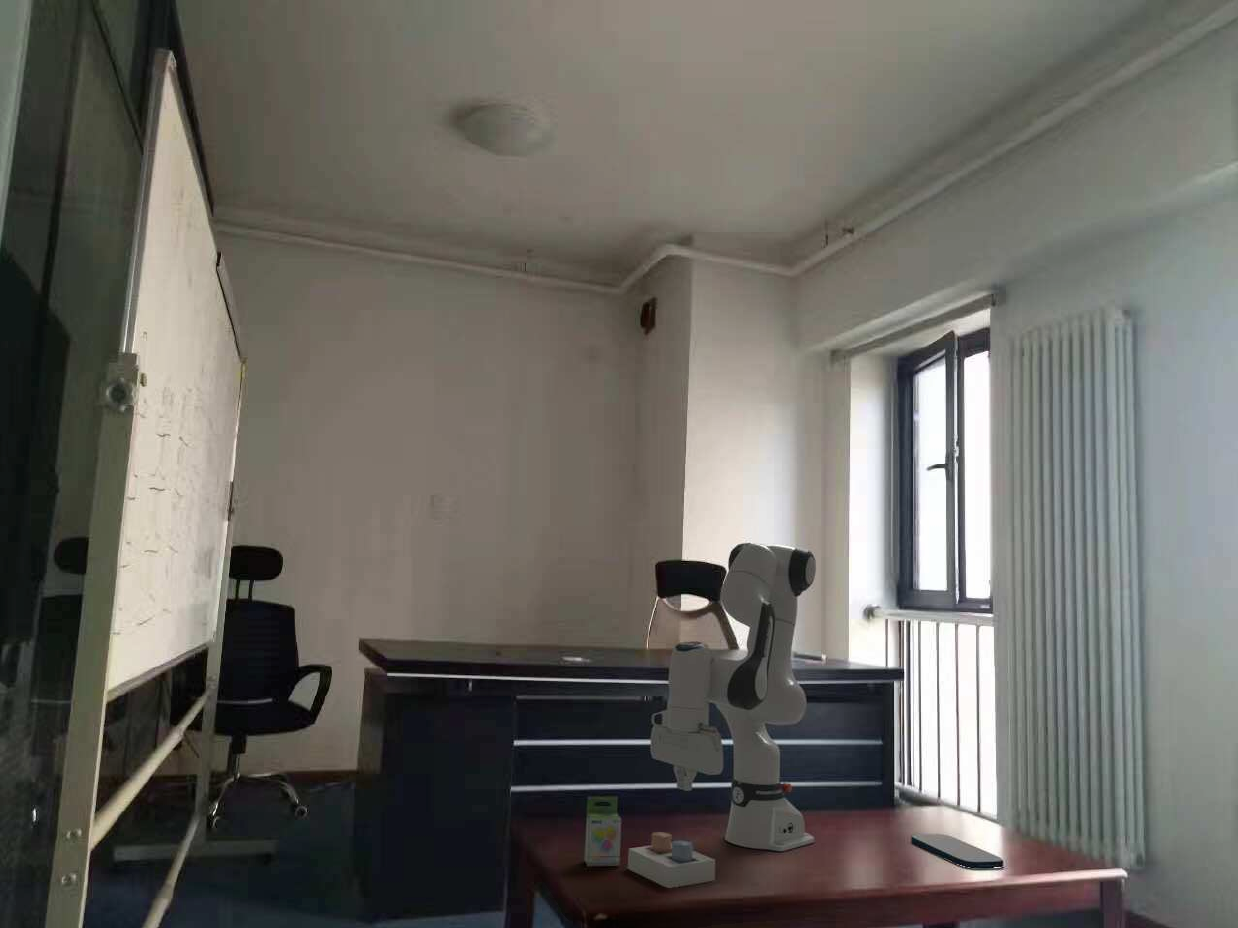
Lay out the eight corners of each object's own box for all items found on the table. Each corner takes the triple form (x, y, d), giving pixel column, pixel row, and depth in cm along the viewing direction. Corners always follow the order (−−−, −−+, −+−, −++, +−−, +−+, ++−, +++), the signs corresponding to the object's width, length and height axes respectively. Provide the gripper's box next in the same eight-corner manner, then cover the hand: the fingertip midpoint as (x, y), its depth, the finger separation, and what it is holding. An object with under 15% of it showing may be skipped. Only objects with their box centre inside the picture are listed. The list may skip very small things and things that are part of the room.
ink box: (587, 867, 186) (590, 800, 188) (583, 861, 189) (587, 796, 191) (619, 866, 187) (622, 800, 189) (615, 861, 191) (618, 796, 193)
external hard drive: (905, 842, 221) (905, 834, 222) (945, 841, 224) (945, 833, 224) (966, 871, 199) (966, 862, 199) (1009, 870, 202) (1009, 861, 202)
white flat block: (672, 861, 193) (673, 842, 193) (714, 880, 181) (715, 859, 182) (627, 868, 186) (628, 848, 187) (668, 888, 174) (669, 866, 175)
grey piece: (683, 859, 184) (684, 839, 185) (696, 865, 181) (696, 844, 181) (667, 862, 182) (668, 841, 182) (680, 867, 178) (680, 847, 179)
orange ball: (662, 850, 190) (663, 831, 190) (674, 856, 186) (675, 836, 187) (647, 853, 187) (648, 833, 188) (659, 858, 184) (659, 838, 185)
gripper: (732, 727, 179) (729, 798, 176) (669, 713, 195) (666, 778, 193) (708, 728, 175) (704, 801, 173) (647, 714, 192) (643, 780, 190)
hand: (684, 789), depth 183 cm, fingers closed
